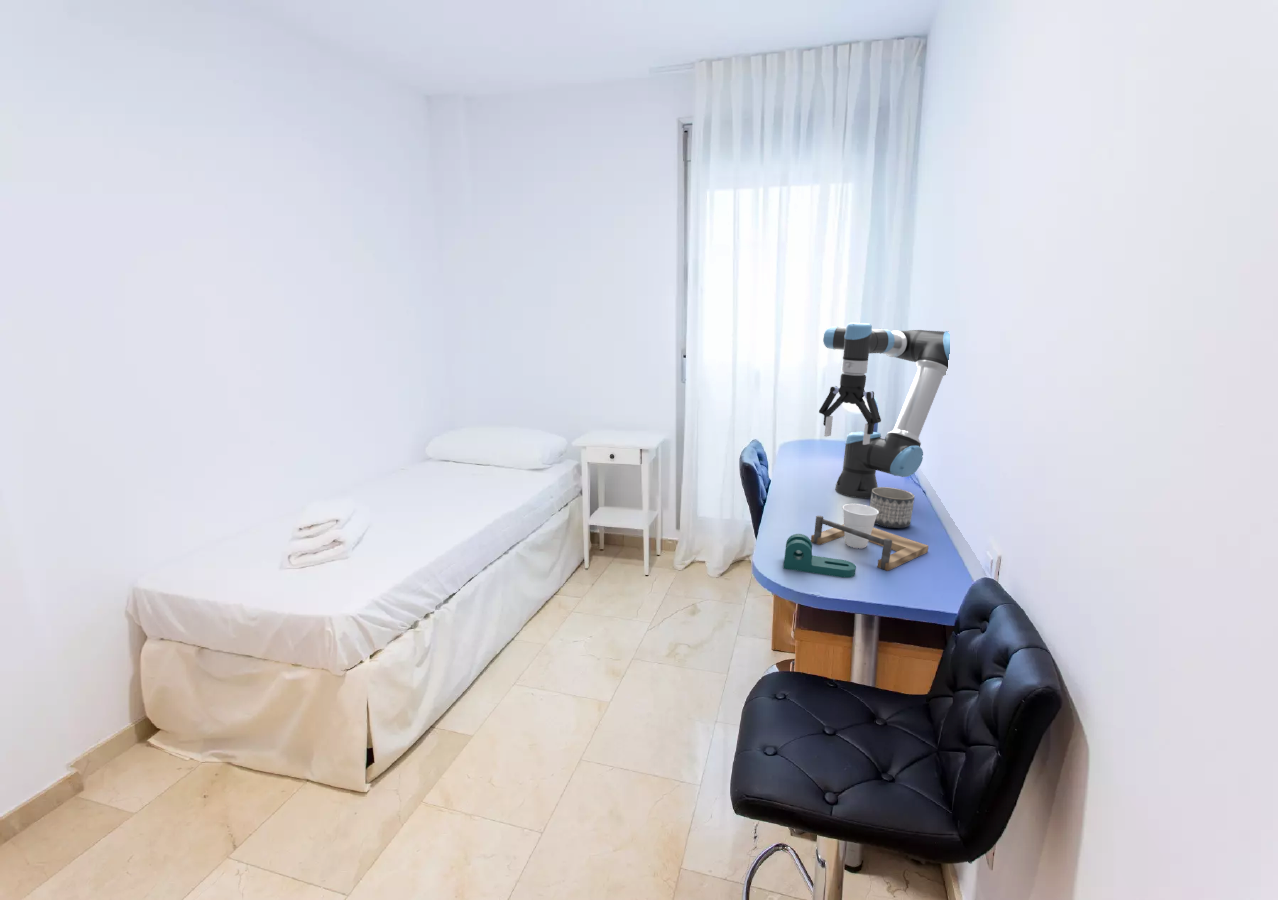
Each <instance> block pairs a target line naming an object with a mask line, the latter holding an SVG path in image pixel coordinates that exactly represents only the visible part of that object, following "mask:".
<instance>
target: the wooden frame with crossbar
mask: <svg viewBox="0 0 1278 900" xmlns="http://www.w3.org/2000/svg"><path fill="white" fill-rule="evenodd" d="M823 525H825V526H828V527H830V528H829V529H826V530H824V531H823ZM844 531H845V532H848V533H851V534H853V535H856V536H859V537H862V538H865V539H868V540H869V541H868V543H869V542H870V543H872V544H874V545H877V546H881V547H882V550H881V551H882V552H881V558H879V559H878V560H877V566H876V567H877V568H879V569H881V570H884V571H886V572H888V571H891V570H893V569H896V568H897V567H899V566H902V565H903V564H906V563H908V562H909V561H912V560H914V559H917V558H918V557H920V556H922V555H925V554H926V553H928V552H929V546H930V545H928V544H924V543H922V542H918V541H917V540H912V539H909V538H907V537H903V536H900V535H897V534H895V533H891V532H890V531H889V532H888V531H885V530H882V529H880V528H876V527H873V529H872V532H871V535H869V534H866V533H863V532H860V531H857V530H854V529H852V528H849V527H846V526H844V523H843V524H839V523H836V522H833V521H831V520H827V519H825V518H824V516H822V515H816V516H815V523H814V533H813V534H811V537H810V541H811V543H812V544H816V545H818V546H821V545H823V544H826V543H829V542H831V541H834V540H837V539H839V538H842V537H843V538H844ZM891 551H895V552H893V553H892V552H891Z"/></svg>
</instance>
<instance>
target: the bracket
mask: <svg viewBox="0 0 1278 900" xmlns="http://www.w3.org/2000/svg"><path fill="white" fill-rule="evenodd" d="M812 544H813V542H811V538H809V537H808V536H807V535H805V534H803V533H795V534H792V535H790V536H789V537H788V538H787V539H786V542H785V551H784V560H783V567H782V568H783V569H784V570H789V571H796V572H803V573H804V572H805V573H809V574H810V573H811V574H816V575H825V576H832V577H837V578H843V579H844V578H847V579H849V578H854V577H855V576H856V571H857V566H856V564H855V563H854V562H851V561H849V560H846V559H841V558H840V559H839V558H834V557H833V558H832V557H825V556H819V555H813V545H812Z"/></svg>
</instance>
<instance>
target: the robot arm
mask: <svg viewBox="0 0 1278 900" xmlns="http://www.w3.org/2000/svg"><path fill="white" fill-rule="evenodd" d="M948 332H949V330H948V331H947V330H945V331H944V330H943V331H942V330H941V331H940V330H926V329H925V330H924V329H923V330H922V329H913V330H912V329H911V330H892V331H891V330H889V329H886V328H885V329H884V328H879V329H878V328H873V327H872V324H871V323H868V322H867V323H866V322H849V323H848V324H847V325H846V326H830V327H828V328H826V330H825V331H824V333H823V339H822V343H823V345H824V347H825V348H827V349H828V350H829V349H830V350H834V351H835V350H837V351H843V355H842V361H841V372H842V373H841V374H840V379H839V387H838V386H836V385H834V386H830V389H829V392H828V395H827V397H826V398H825V400H824V402H823V404H822V405H821V407H820V409H819V411H818V413H819V414H822V415H823V426H824V434H823V437H825V438H827V437H831V436H832V429H833V419H834V418H833V417H834V416H833V415H832V414H833V413H834V412H835V411H836V410H837V409H839V407H841V406H842V404H843V403H844V404H851V405H856V407H858V409H859V411H860V412H861V414H862V416H863V418H864V420H865V421H866V423H864V430H863V431H854V432H853V431H852V432H850V433H848V434H847V436H846V440H845V443H844V445H845V447H844V454H843V463H842V464H843V465H842V470H841V473H840V475H839V477H838V479H837V481H836V483H835V491H836V493H839V494H840V495H844V496H847V497H851V498H859V499H871V493H872V489H874V488H877V487H879V486H878V482H877V476H876V474H877V473H876V472H877V471H878V472H881V473H885V474H888V475H891V476H895V477H901V478H907V477H910V476H912V475H914V474H915V473H917V471H918V469H919V468H920V466H921V464H922V462H923V460H924V459H923V458H924V457H923V456H924V451H923V448H922V447H921V446H922V442H921V440H920V438H919V437H920V435H921V432H922V431H923V428H924V425H925V422H926V420H927V418H928V415H929V413H930V410H931V407H932V405H933V403H934V400H935V398H936V395H937V393H938V391H939V390H938V389H939V388H940V385H941V383H942V380H943V379H944V376H947V375H946V371H947V369H948V360H949V354H950V334H949V333H948ZM870 354H883V355H886V356H888V357H890V358H896V359H901V360H905V361H909V362H914V363H915V365H916V367H917V371H916V374H915V376H914V378H913V381H912V383H911V385H910V388H909V391H908V393H907V395H906V398H905V400H904V403H903V405H902V408H901V409H900V413H899V415H898V418H897V421H896V423H895V425H894V427H893V429H892V430H890V431H888V432H887V433H886V436H885V438H882V435H881V434H882V433H880V432H877V431H874V430H875V424H878V423H881V422H882V418H881V415H880V411H879V409H878V407H877V403H876V400H875V392H874V391H871V390H870V391H865V386H866V382H867V376H866V374H867V373H868V364H869V363H868V362H869V356H870ZM837 394H839V397H837V399H836V400H835V401H834V399H835V397H836V396H837ZM864 399H866V402H867V405H866V402H865V400H864ZM833 401H834V402H833ZM832 402H833V403H832Z"/></svg>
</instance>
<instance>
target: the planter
mask: <svg viewBox="0 0 1278 900" xmlns="http://www.w3.org/2000/svg"><path fill="white" fill-rule="evenodd" d="M915 497H916V496H915V494H914V493H912V492H910V491H907V490H905V489H900V488H895V487H889V486H888V487H887V486H878V487H877V488H874V489H872V493H871V498H870V501H869V506H870V507H873V508H875V509H877V510H878V511H879V513H878V514H877V517H876V520H875V523H874V524H876V525H879V526H881V527H883V528H889V529H901V528H903V529H904V528H907V527H910V525H911V522H912V521H911V520H912V516H913V509H914V502H915Z"/></svg>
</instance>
